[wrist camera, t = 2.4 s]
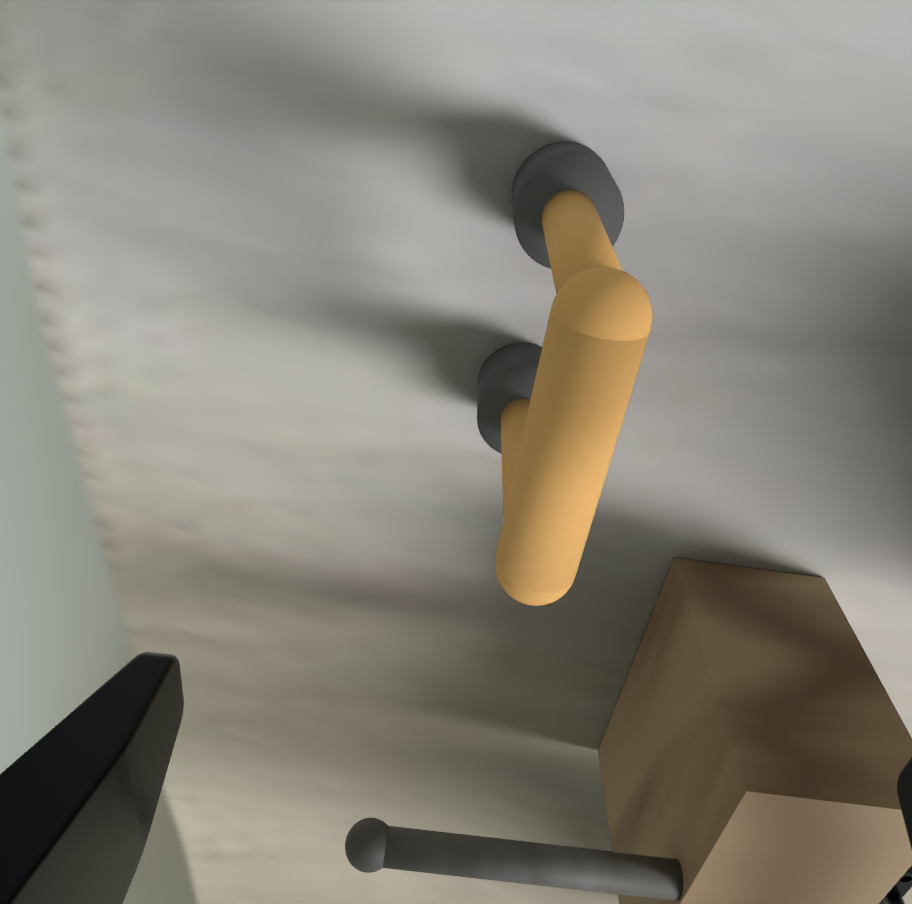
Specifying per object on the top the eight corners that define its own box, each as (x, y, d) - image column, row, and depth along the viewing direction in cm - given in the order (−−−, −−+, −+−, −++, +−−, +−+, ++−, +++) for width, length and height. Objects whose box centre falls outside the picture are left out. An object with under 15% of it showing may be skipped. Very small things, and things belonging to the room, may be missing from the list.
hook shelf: (824, 577, 25) (954, 817, 18) (722, 766, 30) (792, 1006, 23) (393, 520, 24) (355, 746, 17) (367, 723, 30) (331, 957, 23)
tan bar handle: (521, 134, 18) (545, 249, 11) (623, 150, 18) (710, 275, 11) (471, 413, 22) (464, 629, 15) (554, 425, 22) (586, 645, 15)
